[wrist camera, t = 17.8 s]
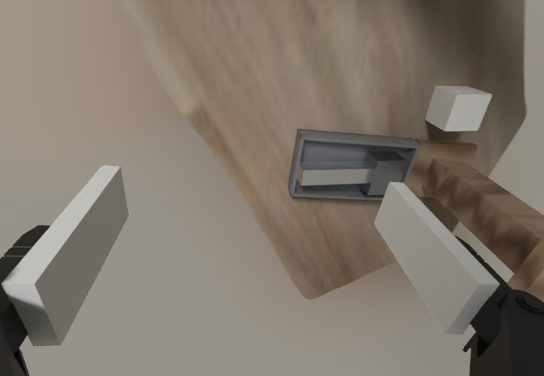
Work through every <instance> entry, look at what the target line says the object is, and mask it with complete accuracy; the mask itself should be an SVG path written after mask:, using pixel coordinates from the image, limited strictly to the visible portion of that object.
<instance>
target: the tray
mask: <svg viewBox="0 0 544 376" xmlns="http://www.w3.org/2000/svg"><path fill="white" fill-rule="evenodd" d="M420 147H421V145H420V144H418V143H417V142H416V141H414V140H413V139H412V138H401V137H389V136H377V135H365V134H352V133H340V132H328V131H316V130H304V129H298V130H297V135H296V141H295V147H294V153H293V159H292V164H291V170H290V176H289V182H288V190H289V193H290V196H292V197H314V198H336V199H357V200H379V201H383V198H384V196H385V194H383V195H367V194H366V193H365V192H364V191H363V190H362V189H361V188H360V187H359V185H358V184H332V185H306V186H301V185H300V183H299V181H298V180H297V178H296V173H297V167H298V162H345V161H364V160H365V156H366V153H367V151H396V152H397V153H398V154H400V155H401V156H402V157H404V158H405V159H407V160H408V162H407V165H406V168H405V170H404V173H403V176H402V178H401V181H400V183H404V184H406V181H407V179H408V177H409V174H410V172H411V169H412V167H413V164H414V162H415V159H416V157H417V155H418V152H419V150H420Z"/></svg>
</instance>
